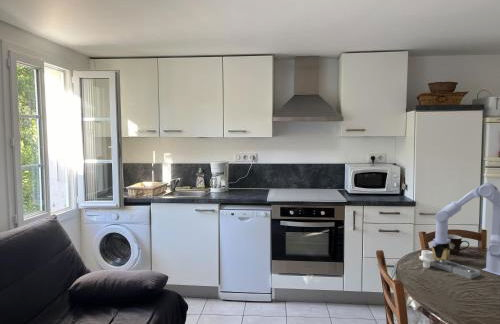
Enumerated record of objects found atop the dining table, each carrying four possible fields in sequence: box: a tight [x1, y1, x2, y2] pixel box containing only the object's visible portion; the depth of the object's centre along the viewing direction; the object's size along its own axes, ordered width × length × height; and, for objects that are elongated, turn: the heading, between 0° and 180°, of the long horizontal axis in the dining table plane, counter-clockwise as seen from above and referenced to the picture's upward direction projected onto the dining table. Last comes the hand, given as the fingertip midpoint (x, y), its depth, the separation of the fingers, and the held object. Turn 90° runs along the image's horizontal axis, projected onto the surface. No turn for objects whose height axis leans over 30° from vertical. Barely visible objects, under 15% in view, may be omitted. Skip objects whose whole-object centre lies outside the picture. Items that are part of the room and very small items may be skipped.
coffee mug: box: [447, 233, 470, 257], centre depth 198 cm, size 12×9×10 cm
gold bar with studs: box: [431, 246, 450, 261], centre depth 189 cm, size 8×3×7 cm, turn 31°
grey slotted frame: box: [433, 259, 481, 280], centre depth 174 cm, size 18×8×3 cm, turn 31°
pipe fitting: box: [418, 249, 436, 269], centre depth 179 cm, size 6×7×8 cm
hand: (440, 257), depth 190 cm, fingers closed on gold bar with studs, 3 cm apart
